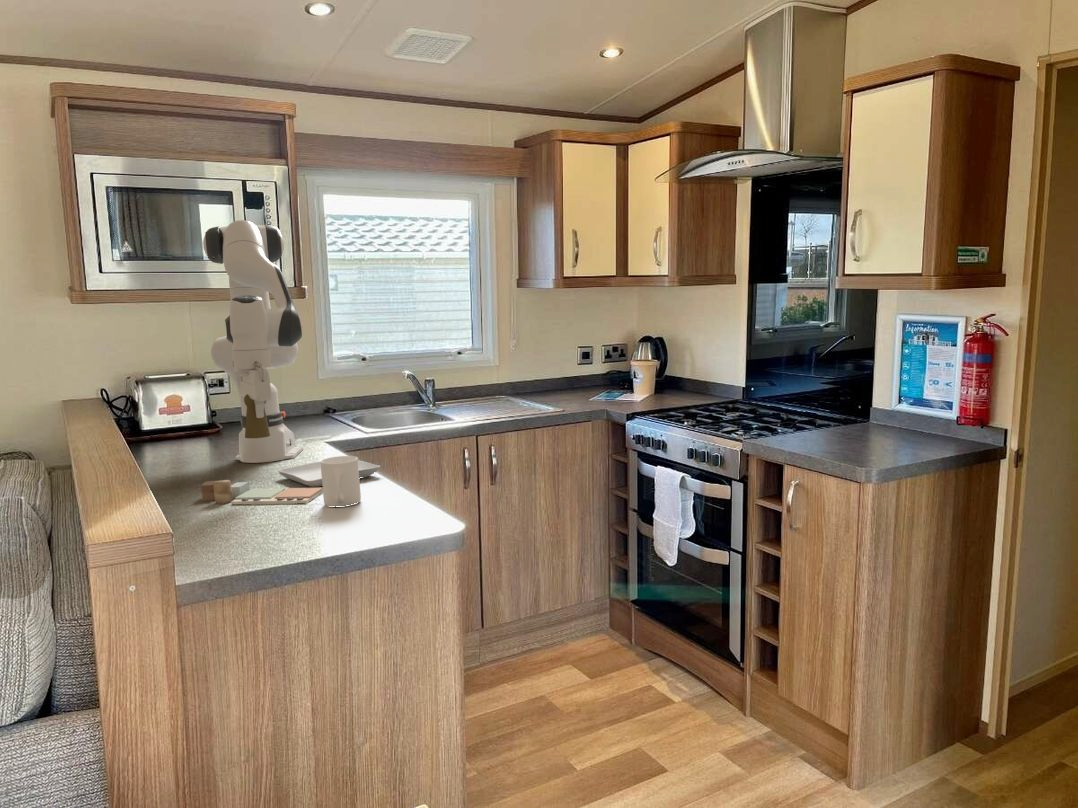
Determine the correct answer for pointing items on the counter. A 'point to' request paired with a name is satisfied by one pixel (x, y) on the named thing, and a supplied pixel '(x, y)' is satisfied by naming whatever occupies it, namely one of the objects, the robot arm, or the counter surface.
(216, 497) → the cork stopper
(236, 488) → the soap box
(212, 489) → the walnut cube
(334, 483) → the mug
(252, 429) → the pepper shaker
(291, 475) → the salad plate
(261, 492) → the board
